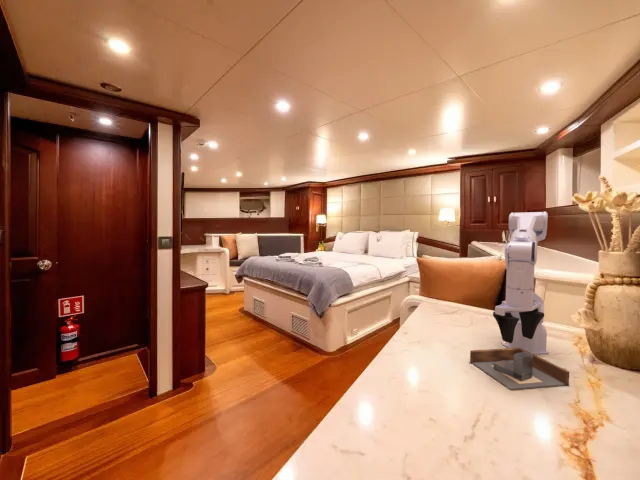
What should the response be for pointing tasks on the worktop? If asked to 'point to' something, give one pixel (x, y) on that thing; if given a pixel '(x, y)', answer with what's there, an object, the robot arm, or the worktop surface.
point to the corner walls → (509, 355)
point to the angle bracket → (517, 366)
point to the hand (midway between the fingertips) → (517, 339)
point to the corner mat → (511, 383)
